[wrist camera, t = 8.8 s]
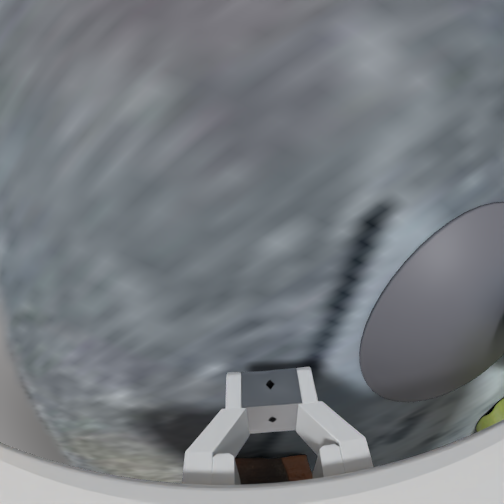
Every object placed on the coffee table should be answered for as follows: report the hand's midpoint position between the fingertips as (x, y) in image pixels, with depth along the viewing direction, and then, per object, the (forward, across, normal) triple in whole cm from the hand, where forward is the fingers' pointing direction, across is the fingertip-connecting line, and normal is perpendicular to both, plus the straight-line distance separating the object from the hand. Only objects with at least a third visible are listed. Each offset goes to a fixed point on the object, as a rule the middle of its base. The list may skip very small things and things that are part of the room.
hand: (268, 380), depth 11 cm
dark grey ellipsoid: (+2, +10, 0) cm, 10 cm away
